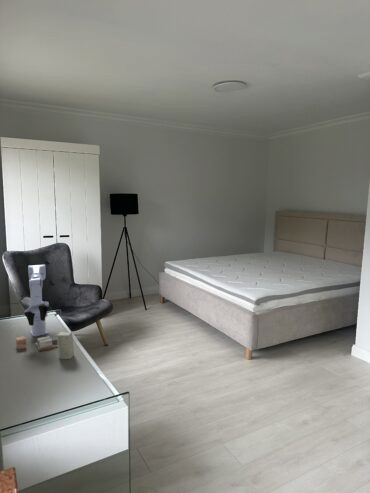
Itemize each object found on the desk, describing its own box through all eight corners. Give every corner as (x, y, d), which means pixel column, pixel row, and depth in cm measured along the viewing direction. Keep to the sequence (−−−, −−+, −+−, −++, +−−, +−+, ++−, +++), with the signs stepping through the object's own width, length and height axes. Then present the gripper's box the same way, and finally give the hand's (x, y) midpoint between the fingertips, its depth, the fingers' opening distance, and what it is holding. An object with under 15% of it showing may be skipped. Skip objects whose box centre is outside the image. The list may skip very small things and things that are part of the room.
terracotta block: (16, 347, 180) (16, 337, 179) (24, 345, 182) (24, 336, 181) (17, 349, 176) (17, 340, 176) (26, 347, 179) (25, 338, 178)
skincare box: (74, 355, 170) (73, 331, 168) (70, 359, 165) (69, 335, 164) (62, 354, 170) (60, 331, 169) (57, 358, 166) (56, 334, 164)
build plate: (35, 344, 182) (34, 337, 181) (56, 340, 188) (56, 333, 188) (39, 351, 174) (38, 344, 173) (61, 346, 180) (61, 339, 180)
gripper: (19, 301, 182) (20, 325, 176) (41, 292, 179) (42, 316, 172) (30, 304, 188) (30, 328, 182) (51, 295, 185) (52, 319, 178)
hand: (36, 322), depth 178 cm, fingers open, 7 cm apart
